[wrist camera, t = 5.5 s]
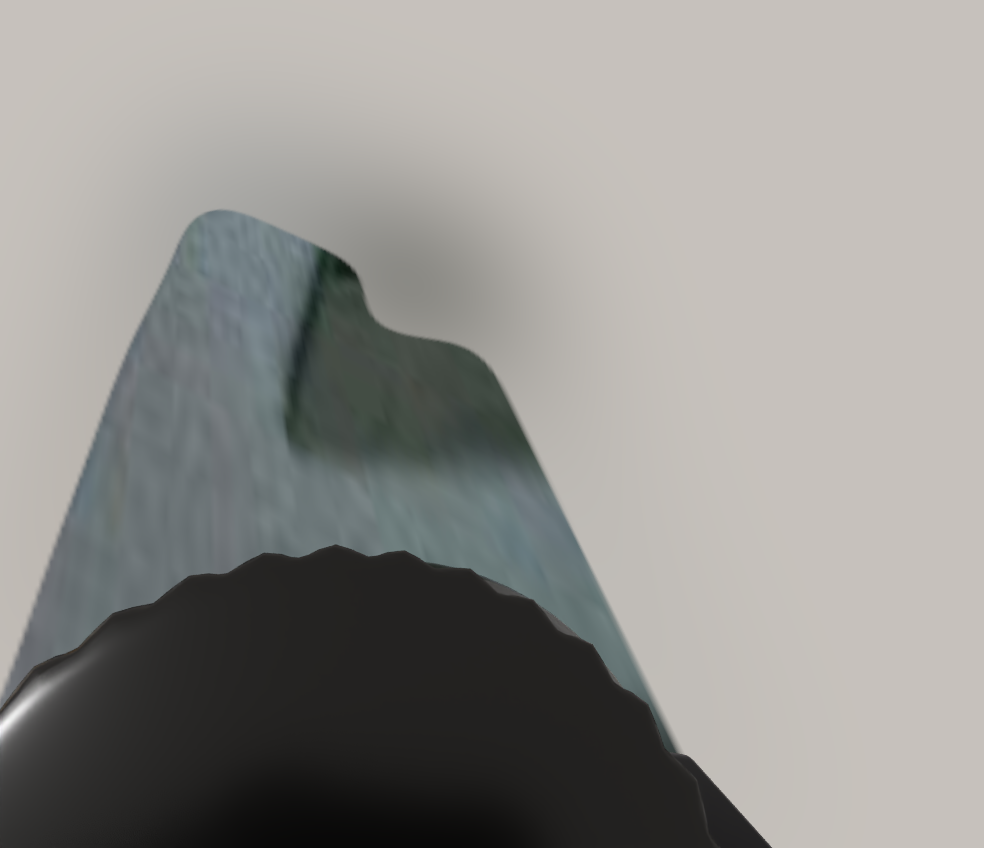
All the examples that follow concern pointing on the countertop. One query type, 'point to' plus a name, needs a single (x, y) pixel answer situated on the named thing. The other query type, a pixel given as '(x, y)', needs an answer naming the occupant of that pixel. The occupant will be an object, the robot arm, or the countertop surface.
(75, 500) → the countertop surface
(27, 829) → the supplement bottle
